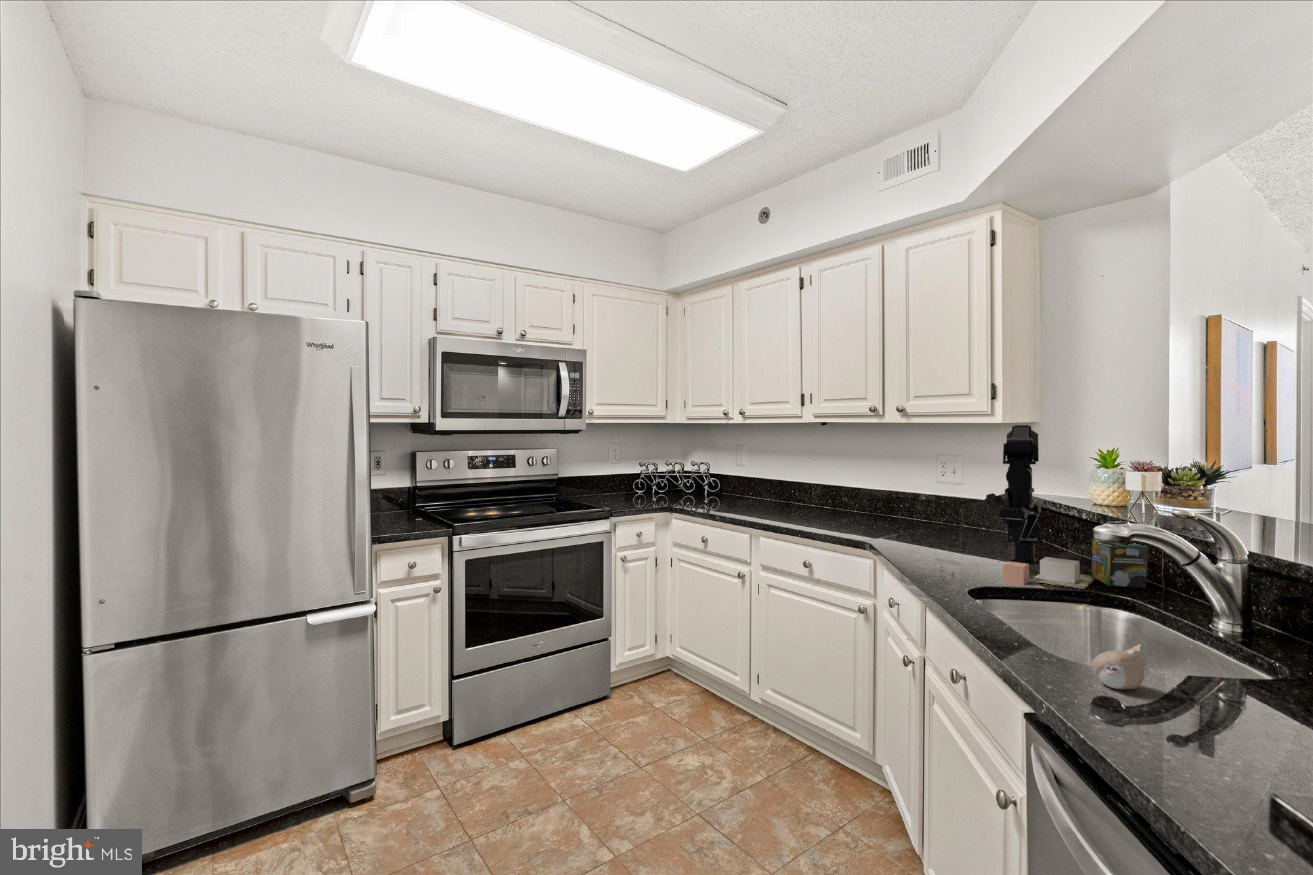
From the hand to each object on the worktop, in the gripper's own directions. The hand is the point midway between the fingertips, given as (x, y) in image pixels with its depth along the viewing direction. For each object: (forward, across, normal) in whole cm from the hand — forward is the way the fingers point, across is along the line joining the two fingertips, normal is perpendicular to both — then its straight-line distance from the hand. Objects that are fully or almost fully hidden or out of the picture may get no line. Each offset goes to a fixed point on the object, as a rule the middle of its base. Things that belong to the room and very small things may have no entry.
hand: (1020, 541), depth 164 cm
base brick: (+10, -8, +8) cm, 15 cm away
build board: (+11, -10, +8) cm, 17 cm away
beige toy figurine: (+12, +63, +29) cm, 70 cm away
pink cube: (+12, 0, -1) cm, 12 cm away
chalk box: (+11, -14, +20) cm, 27 cm away
